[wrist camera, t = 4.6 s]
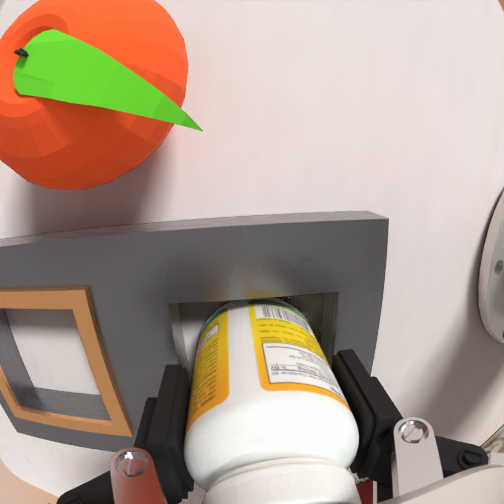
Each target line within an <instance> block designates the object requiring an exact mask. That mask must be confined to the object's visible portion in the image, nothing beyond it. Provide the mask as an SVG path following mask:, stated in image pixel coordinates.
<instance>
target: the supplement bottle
mask: <svg viewBox="0 0 504 504" xmlns="http://www.w3.org/2000/svg"><path fill="white" fill-rule="evenodd" d="M358 446H359V432H358V427H357V423H356V421H355V419H354V416H353V414H352V412H351V410H350V408H349V406H348V403H347V401H346V399H345V397H344V395H343V393H342V391H341V389H340V387H339V385H338V383H337V380H336V378H335V376H334V374H333V372H332V370H331V368H330V366H329V364H328V362H327V360H326V358H325V356H324V354H323V352H322V350H321V348H320V345H319V343H318V341H317V339H316V337H315V335H314V333H313V331H312V329H311V327H310V325H309V324H308V322H307V320H306V319H305V317H304V316H303V315H302V314H301V313H300V312H299V311H298V310H297V309H296V308H295V307H293V306H292V305H290V304H289V303H287V302H285V301H283V300H280V299H277V298H274V297H270V298H257V299H244V300H233V301H230V302H228V303H226V304H225V305H223V306H221V307H220V308H218V309H217V310H216V311H215V312H214V313H213V314H212V315H211V316H210V317H209V319H208V320H207V321H206V323H205V324H204V326H203V328H202V330H201V332H200V335H199V339H198V343H197V349H196V357H195V363H194V370H193V377H192V385H191V392H190V399H189V407H188V414H187V422H186V429H185V438H184V448H183V450H184V461H185V465H186V467H187V470H188V472H189V474H190V475H191V477H192V478H193V480H194V481H195V482H196V483H197V484H198V485H199V486H200V487H201V488H202V489H203V490H205V491H206V492H207V493H206V495H205V496H204V498H203V502H202V504H362V502H361V499H360V496H359V493H358V491H357V488H356V485H355V480H354V478H353V476H352V475H351V474H350V473H349V472H348V468H349V467H350V466H351V464H352V462H353V460H354V458H355V456H356V453H357V450H358Z"/></svg>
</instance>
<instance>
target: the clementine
mask: <svg viewBox="0 0 504 504" xmlns="http://www.w3.org/2000/svg"><path fill="white" fill-rule="evenodd" d="M187 74H188V60H187V54H186V49H185V43H184V39H183V37H182V35H181V33H180V31H179V29H178V28H177V26H176V24H175V22H174V20H173V19H172V17H171V16H170V15H169V14H168V12H167V11H166V10H165V9H164V8H163V7H162V6H161V5H160V4H158V3H157V2H156V1H155V0H39V1H37V2H36V3H35V4H33V5H32V6H31V7H30V8H28V9H27V10H26V11H25V12H23V13H22V14H21V15H20V16H19V17H18V18H17V19H16V20H15V21H14V22H13V24H12V25H11V26H10V27H9V28H8V29H7V31H6V32H5V33H4V35H3V36H2V38H1V39H0V160H1V161H2V162H4V163H5V164H6V165H7V166H9V167H10V168H11V169H13V170H14V171H15V172H16V173H18V174H19V175H20V176H22V177H23V178H24V179H26V180H27V181H28V182H31V183H34V184H37V185H40V186H44V187H47V188H52V189H88V188H91V187H94V186H98V185H101V184H104V183H107V182H111V181H112V180H114V179H116V178H118V177H119V176H121V175H123V174H124V173H126V172H128V171H129V170H131V169H133V168H134V167H136V166H138V165H139V164H141V163H142V162H143V161H144V160H145V159H146V158H147V157H148V156H149V155H150V154H151V153H152V152H153V151H154V150H156V149H157V148H158V147H159V146H160V145H161V143H162V142H163V140H164V139H165V137H166V136H167V134H168V133H169V131H170V130H171V128H172V127H173V125H174V124H179V125H182V126H186V127H190V128H193V129H197V130H200V131H203V130H202V129H201V128H200V127H199V126H198V125H197V124H196V123H195V122H194V121H193V120H192V119H191V118H190V117H189V116H188V114H187V113H185V112H184V111H183V110H182V109H181V106H182V104H183V101H184V98H185V92H186V83H187Z"/></svg>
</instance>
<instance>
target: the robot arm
mask: <svg viewBox="0 0 504 504" xmlns="http://www.w3.org/2000/svg"><path fill="white" fill-rule="evenodd" d="M478 292H479V309H480V315H481V319H482V322H483V324H484V327H485V329H486V330H487V331H488V333H489V334H490V335H491V336H492V337H494V338H495V339H496V340H498V341H499V342H500V343H504V191H503V193H502V195H501V198H500V200H499V202H498V204H497V206H496V208H495V211H494V214H493V217H492V220H491V223H490V226H489V229H488V233H487V237H486V241H485V244H484V248H483V254H482V260H481V266H480V275H479V286H478ZM331 370H332V372H333V374H334V376H335V378H336V380H337V383H338V385H339V387H340V389H341V391H342V393H343V395H344V397H345V399H346V401H347V403H348V406H349V408H350V410H351V412H352V414H353V416H354V419H355V421H356V423H357V427H358V432H359V446H358V450H357V453H356V456H355V458H354V460H353V462H352V464H351V466H350V469H351V471H352V473H357V475H358V478H359V479H362V478H366V477H368V478H369V479H370V480H372V481H373V504H504V453H496V452H491V453H490V455H488V454H487V453H486V452H485V450H484V449H482V448H481V447H479V446H476V445H473V444H468V443H463V442H459V441H455V440H451V439H447V438H443V437H439V436H435V435H434V432H433V429H432V426H431V425H430V424H429V423H428V422H427V421H425V420H424V419H421V418H418V417H408V418H404V419H403V417H402V416H401V414H400V413H399V411H398V409H397V408H396V406H395V405H394V403H393V402H392V400H391V399H390V397H389V396H388V394H387V393H386V391H385V390H384V388H383V387H382V385H381V384H380V382H379V380H378V379H377V378H376V377H371V376H370V375H369V373H368V372H367V370H366V369H365V367H364V366H363V364H362V362H361V361H360V359H359V358H358V356H357V355H356V353H355V352H354V350H353V349H346V350H339V351H338V352H337V355H333V358H332V366H331ZM190 392H191V387H190V382H189V377H188V372H187V368H182V366H181V364H168V365H166V366H165V370H164V373H163V377H162V381H161V385H160V389H159V393H158V397H148V398H147V400H146V403H145V406H144V410H143V414H142V417H141V421H140V424H139V428H138V432H137V436H136V439H135V443H134V447H131V448H125V449H122V450H120V451H118V452H116V453H115V454H114V455H113V456H112V458H111V460H110V471H108V472H106V473H104V474H102V475H100V476H98V477H96V478H94V479H92V480H90V481H88V482H86V483H84V484H82V485H80V486H78V487H76V488H74V489H72V490H70V491H67V492H66V493H64V494H62V495H61V496H60V498H59V499H58V501H57V504H179V503H180V502H182V499H188V491H191V492H193V487H194V480H193V478H192V477H191V475H190V474H189V472H188V470H187V467H186V465H185V461H184V450H183V448H184V438H185V429H186V422H187V414H188V407H189V399H190Z"/></svg>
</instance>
